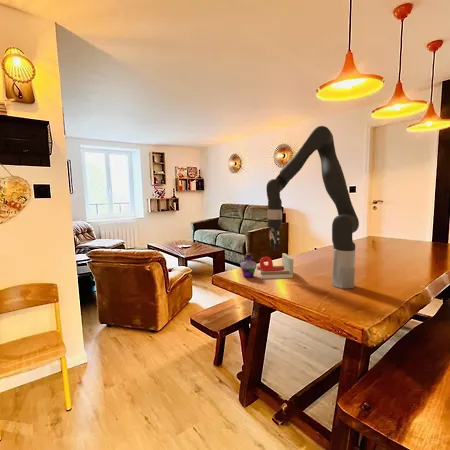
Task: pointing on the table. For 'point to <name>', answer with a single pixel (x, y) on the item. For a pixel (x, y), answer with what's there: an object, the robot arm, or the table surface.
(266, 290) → the table surface
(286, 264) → the cleat board
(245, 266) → the potion bottle
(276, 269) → the bracket
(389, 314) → the table surface
